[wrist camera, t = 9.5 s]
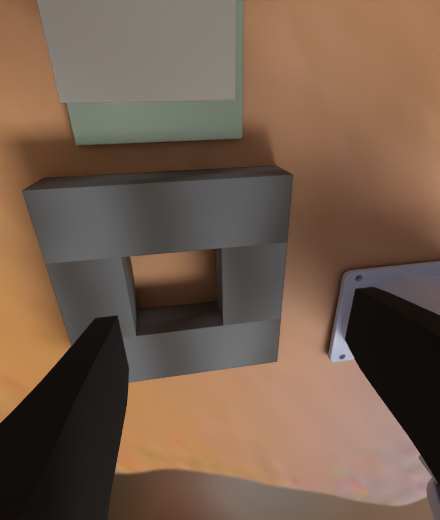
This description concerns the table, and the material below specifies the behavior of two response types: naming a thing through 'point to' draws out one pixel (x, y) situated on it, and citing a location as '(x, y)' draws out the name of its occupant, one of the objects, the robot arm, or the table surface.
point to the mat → (163, 114)
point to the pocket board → (168, 241)
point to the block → (141, 50)
